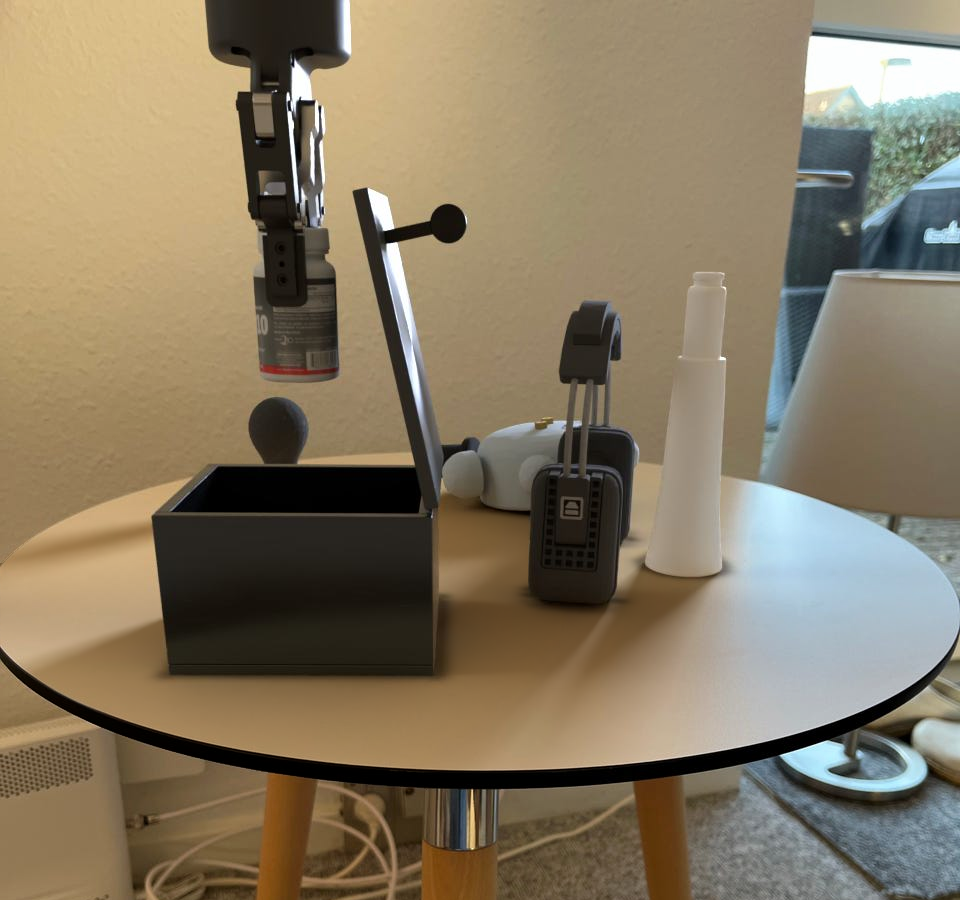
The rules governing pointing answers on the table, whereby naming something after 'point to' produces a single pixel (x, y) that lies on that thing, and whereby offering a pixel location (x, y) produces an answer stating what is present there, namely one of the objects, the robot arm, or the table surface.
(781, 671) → the table surface
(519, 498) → the figurine
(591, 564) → the headphones
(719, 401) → the cosmetic bottle
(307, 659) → the dark grey open box
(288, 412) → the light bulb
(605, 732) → the table surface
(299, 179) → the robot arm
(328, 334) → the pill bottle
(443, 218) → the dark grey box lid
